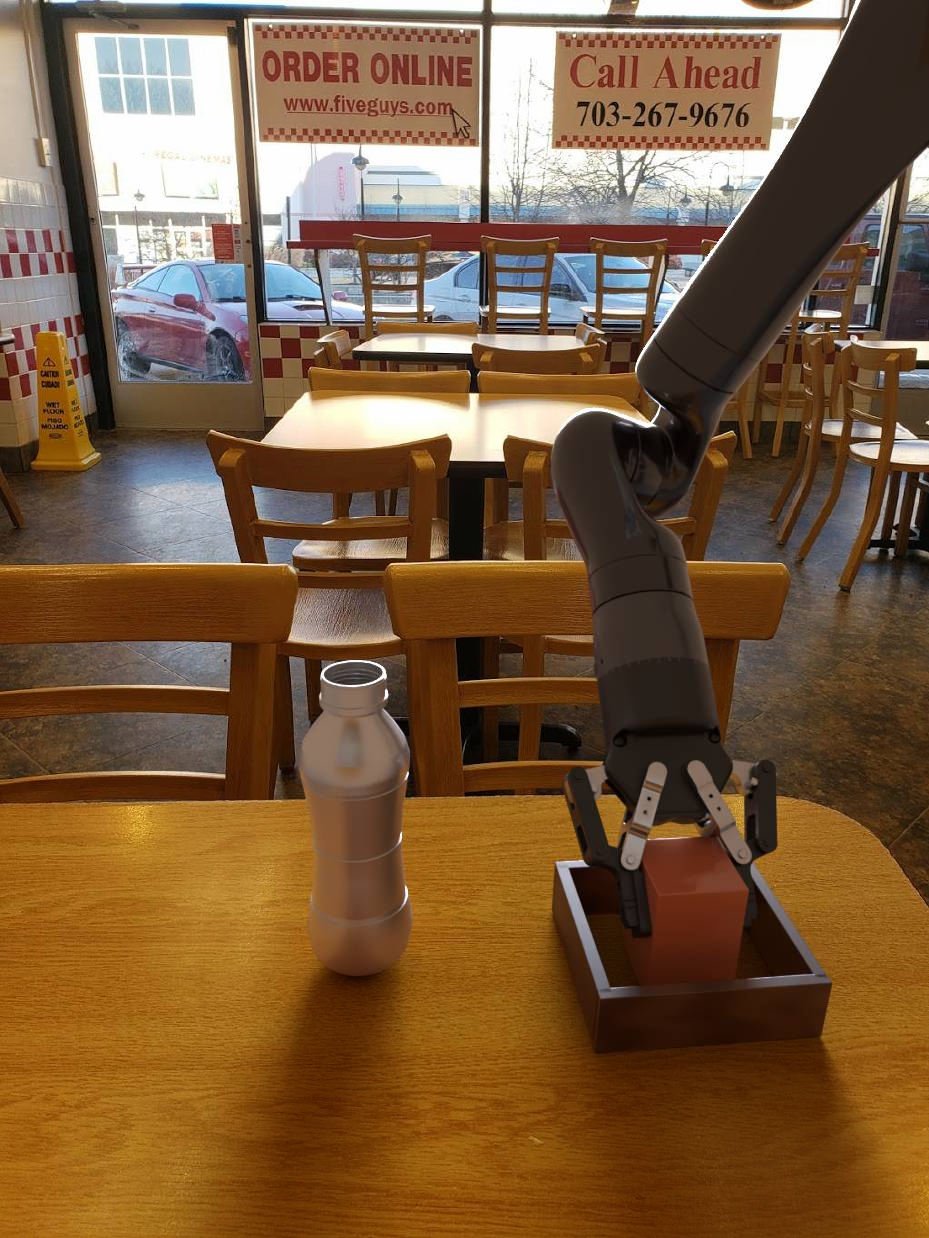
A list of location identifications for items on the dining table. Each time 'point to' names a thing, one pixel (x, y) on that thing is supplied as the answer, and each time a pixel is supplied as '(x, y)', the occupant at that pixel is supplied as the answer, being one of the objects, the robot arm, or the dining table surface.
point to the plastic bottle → (356, 823)
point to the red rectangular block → (689, 913)
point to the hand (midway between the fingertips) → (692, 932)
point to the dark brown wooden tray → (689, 1008)
